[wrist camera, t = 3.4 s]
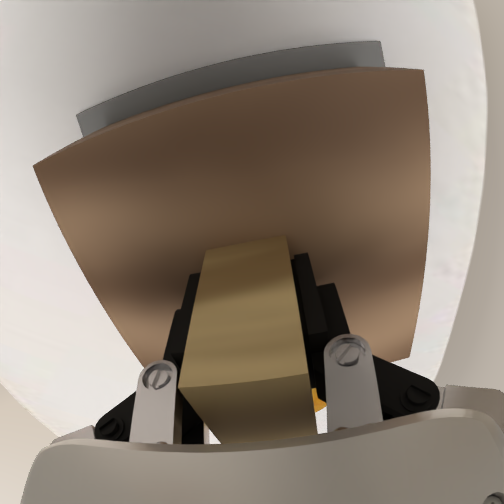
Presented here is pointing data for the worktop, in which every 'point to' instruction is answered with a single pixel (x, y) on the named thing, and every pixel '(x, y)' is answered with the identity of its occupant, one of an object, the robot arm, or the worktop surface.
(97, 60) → the worktop surface
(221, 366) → the square lid with knob
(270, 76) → the rubber mat
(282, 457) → the robot arm
